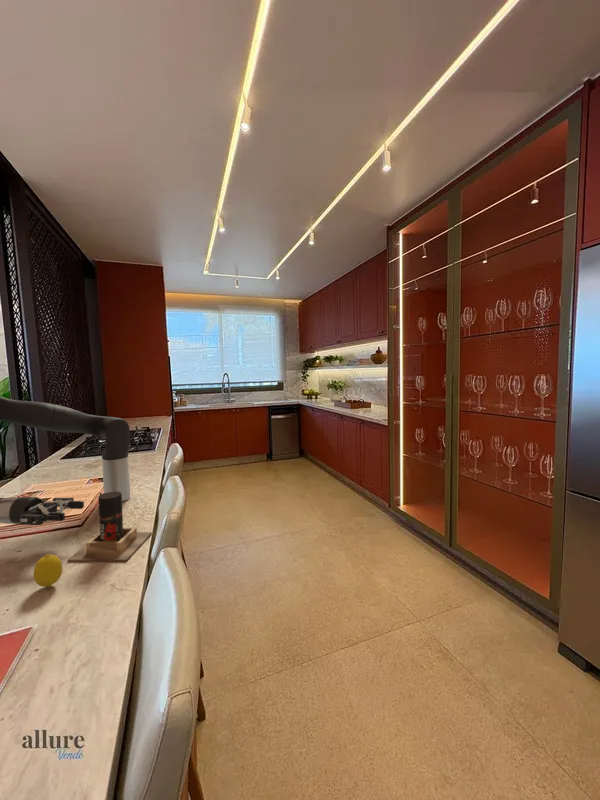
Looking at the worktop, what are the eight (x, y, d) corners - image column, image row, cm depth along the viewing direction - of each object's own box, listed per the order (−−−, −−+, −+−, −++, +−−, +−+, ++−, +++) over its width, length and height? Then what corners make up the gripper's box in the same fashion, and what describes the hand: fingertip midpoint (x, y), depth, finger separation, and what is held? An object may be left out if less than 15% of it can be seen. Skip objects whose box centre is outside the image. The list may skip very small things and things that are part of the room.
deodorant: (127, 540, 104) (125, 492, 103) (115, 550, 98) (113, 499, 97) (109, 539, 105) (107, 491, 104) (95, 549, 99) (93, 498, 98)
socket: (101, 534, 110) (101, 523, 109) (151, 534, 110) (151, 523, 109) (67, 561, 94) (66, 548, 93) (126, 561, 94) (125, 549, 93)
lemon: (68, 582, 84) (66, 551, 84) (45, 596, 79) (43, 563, 79) (52, 578, 86) (50, 547, 86) (28, 591, 81) (26, 558, 80)
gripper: (-4, 507, 93) (56, 507, 94) (36, 489, 108) (88, 489, 108) (-2, 534, 94) (57, 534, 94) (37, 512, 108) (89, 513, 108)
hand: (74, 510), depth 101 cm, fingers open, 8 cm apart
